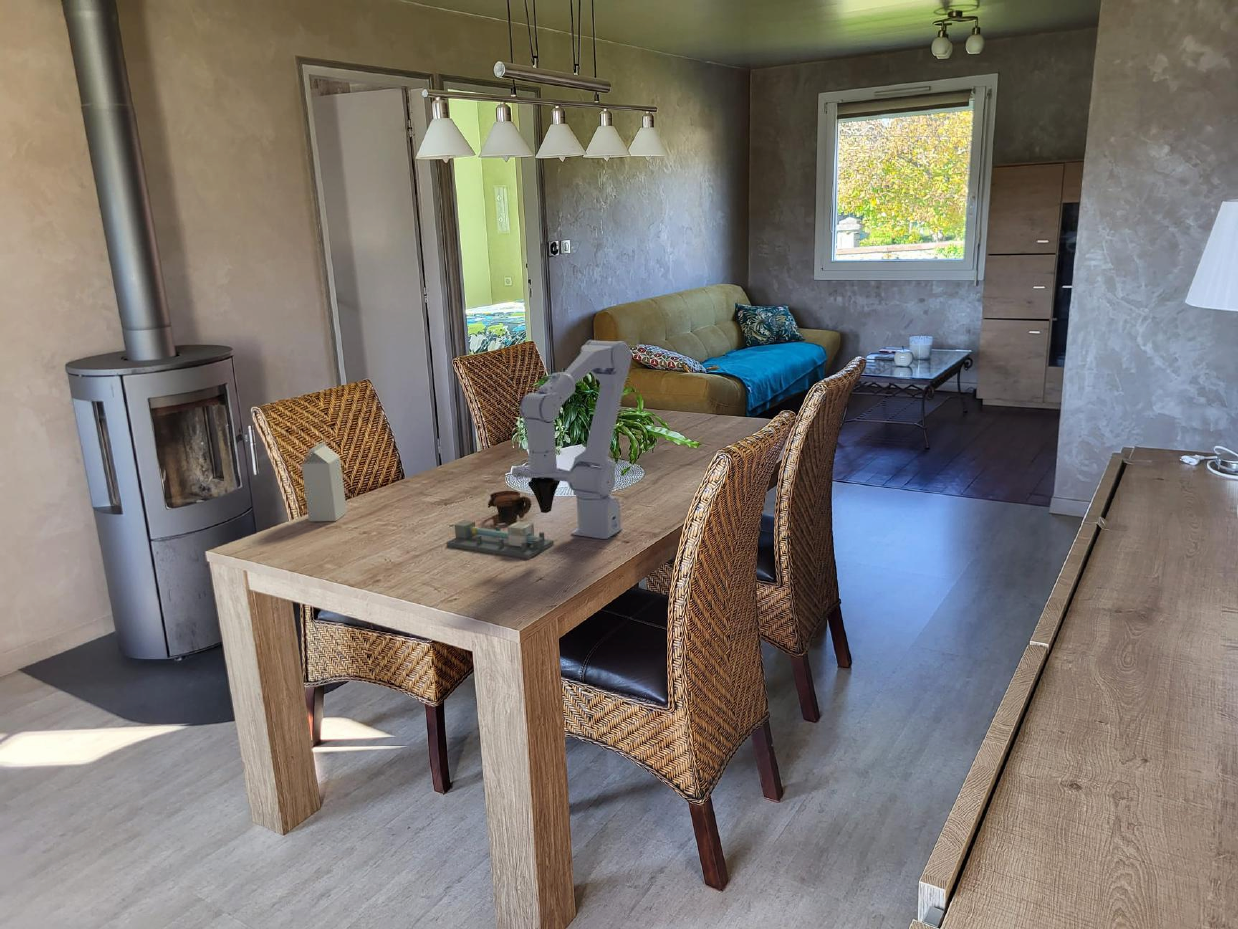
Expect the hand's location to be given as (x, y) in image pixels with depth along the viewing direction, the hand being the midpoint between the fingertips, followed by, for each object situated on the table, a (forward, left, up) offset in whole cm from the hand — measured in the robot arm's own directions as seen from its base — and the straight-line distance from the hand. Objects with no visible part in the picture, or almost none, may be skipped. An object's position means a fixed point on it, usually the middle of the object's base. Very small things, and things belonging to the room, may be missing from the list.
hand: (546, 511), depth 196 cm
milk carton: (+67, -1, -10) cm, 68 cm away
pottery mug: (+22, -17, -10) cm, 30 cm away
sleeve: (+7, 0, -8) cm, 11 cm away
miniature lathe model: (+13, 0, -9) cm, 16 cm away
